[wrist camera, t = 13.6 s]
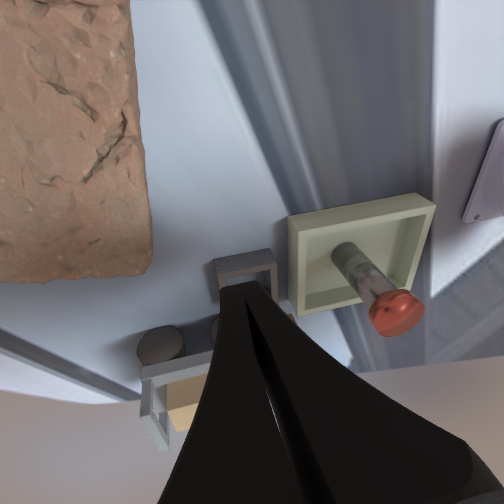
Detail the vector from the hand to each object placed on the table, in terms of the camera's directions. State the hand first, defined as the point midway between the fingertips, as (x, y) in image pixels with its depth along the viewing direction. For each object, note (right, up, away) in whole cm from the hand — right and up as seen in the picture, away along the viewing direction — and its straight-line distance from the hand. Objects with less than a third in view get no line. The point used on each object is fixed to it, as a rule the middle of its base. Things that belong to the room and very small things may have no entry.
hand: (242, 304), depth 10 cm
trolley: (-4, -6, +15) cm, 17 cm away
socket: (0, 0, +12) cm, 12 cm away
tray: (+8, +2, +13) cm, 16 cm away
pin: (+8, +2, +13) cm, 15 cm away
